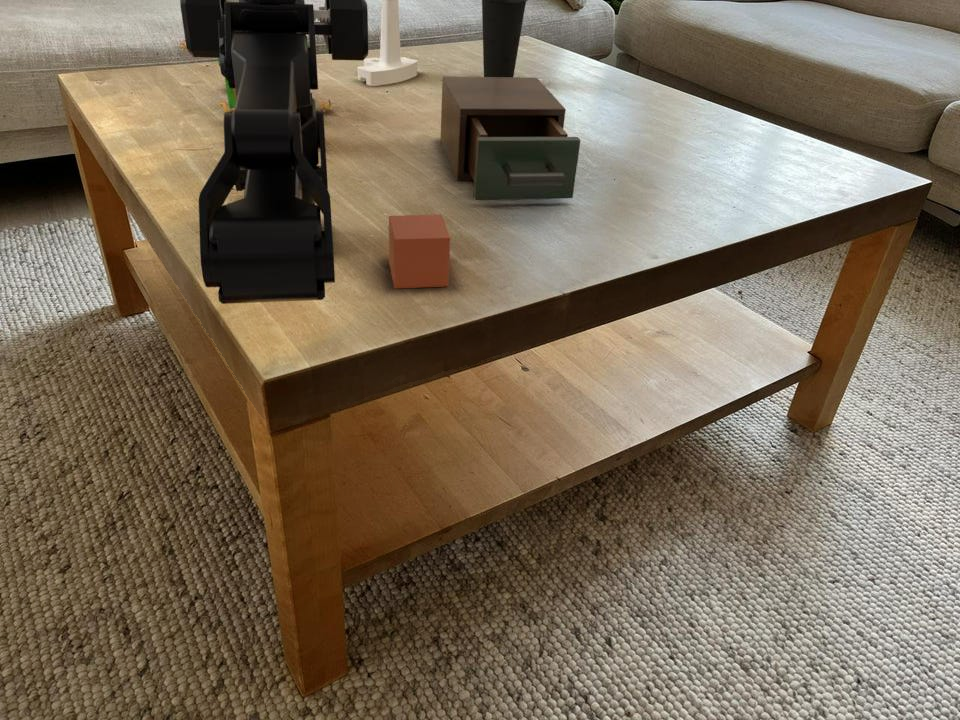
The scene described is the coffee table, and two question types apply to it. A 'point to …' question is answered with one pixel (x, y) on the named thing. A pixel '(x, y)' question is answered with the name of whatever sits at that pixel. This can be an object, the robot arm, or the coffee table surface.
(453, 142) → the cabinet
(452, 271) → the coffee table surface
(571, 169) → the drawer
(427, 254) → the block
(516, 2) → the drinking cup
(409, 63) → the white post stand
